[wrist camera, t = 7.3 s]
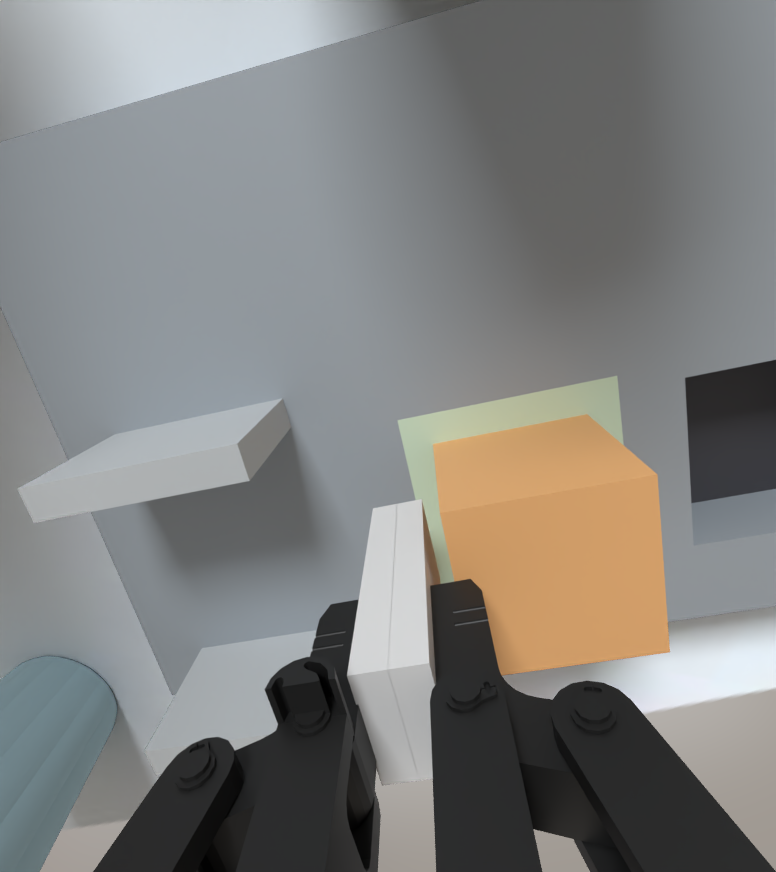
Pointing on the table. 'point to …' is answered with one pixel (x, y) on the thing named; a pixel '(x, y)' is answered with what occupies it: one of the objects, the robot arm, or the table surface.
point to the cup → (46, 752)
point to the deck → (399, 309)
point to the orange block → (556, 542)
